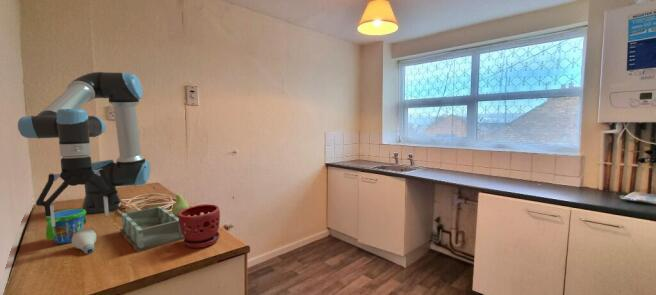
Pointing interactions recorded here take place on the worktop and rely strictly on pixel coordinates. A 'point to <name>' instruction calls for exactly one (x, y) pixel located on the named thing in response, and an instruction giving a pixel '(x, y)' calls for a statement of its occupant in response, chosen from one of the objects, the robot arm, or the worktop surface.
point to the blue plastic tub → (65, 225)
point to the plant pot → (200, 225)
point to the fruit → (179, 204)
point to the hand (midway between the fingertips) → (81, 220)
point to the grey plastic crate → (150, 228)
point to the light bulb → (84, 240)
